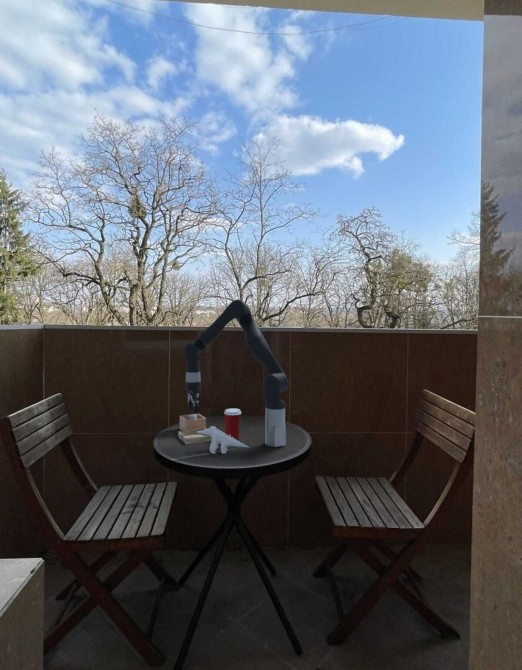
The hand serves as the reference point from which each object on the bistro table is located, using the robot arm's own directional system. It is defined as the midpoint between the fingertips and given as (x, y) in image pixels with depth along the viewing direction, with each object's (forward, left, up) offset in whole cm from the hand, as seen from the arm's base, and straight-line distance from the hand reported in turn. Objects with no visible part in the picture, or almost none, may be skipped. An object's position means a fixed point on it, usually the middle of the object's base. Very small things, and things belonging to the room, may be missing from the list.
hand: (193, 411), depth 187 cm
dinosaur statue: (-35, -2, -11) cm, 37 cm away
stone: (0, 0, -6) cm, 6 cm away
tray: (-14, +3, -11) cm, 18 cm away
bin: (0, 0, -11) cm, 11 cm away
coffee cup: (-23, -12, -11) cm, 28 cm away
